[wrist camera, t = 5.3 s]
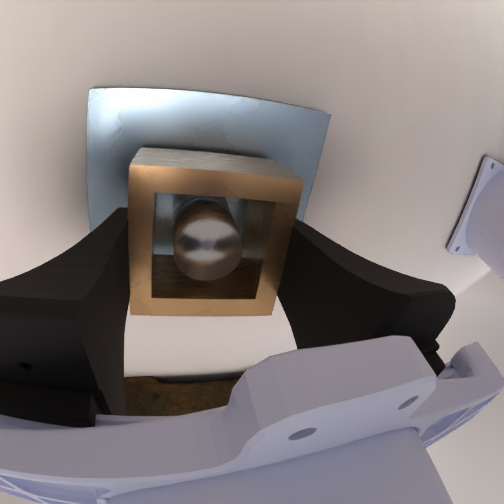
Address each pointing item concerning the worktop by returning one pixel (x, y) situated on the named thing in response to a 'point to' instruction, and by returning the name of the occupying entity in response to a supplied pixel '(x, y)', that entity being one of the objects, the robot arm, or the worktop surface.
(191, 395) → the dark brown long piece
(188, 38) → the worktop surface
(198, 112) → the piston plate
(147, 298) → the square wooden frame
